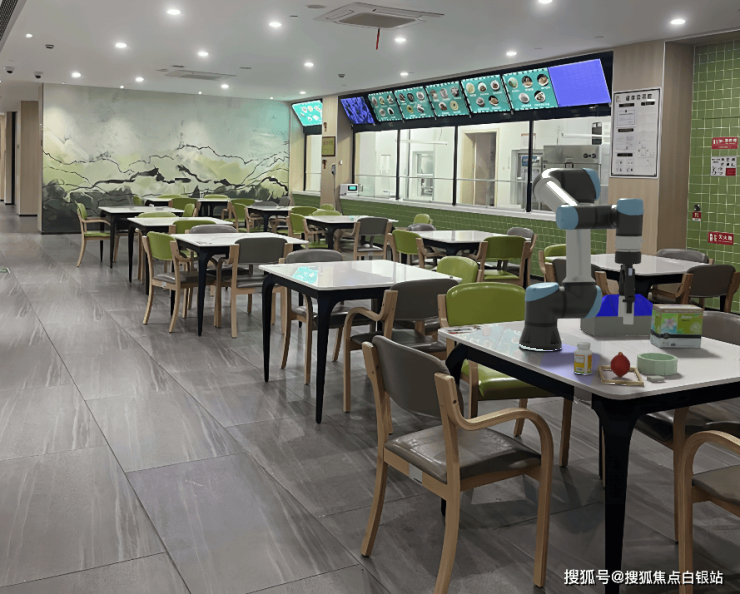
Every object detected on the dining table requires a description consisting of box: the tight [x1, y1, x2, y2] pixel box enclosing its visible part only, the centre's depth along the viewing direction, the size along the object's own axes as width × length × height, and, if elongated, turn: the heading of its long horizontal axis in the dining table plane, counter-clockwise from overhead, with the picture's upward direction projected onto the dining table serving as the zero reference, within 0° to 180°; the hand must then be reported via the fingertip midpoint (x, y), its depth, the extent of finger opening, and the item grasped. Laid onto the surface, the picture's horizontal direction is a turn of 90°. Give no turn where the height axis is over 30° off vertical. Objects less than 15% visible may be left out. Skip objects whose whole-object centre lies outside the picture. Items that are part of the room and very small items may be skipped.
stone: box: [646, 375, 666, 383], centre depth 217 cm, size 4×3×2 cm
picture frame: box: [597, 365, 645, 387], centre depth 221 cm, size 12×19×1 cm, turn 166°
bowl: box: [636, 352, 679, 376], centre depth 228 cm, size 12×12×4 cm
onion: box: [609, 351, 631, 378], centre depth 220 cm, size 6×6×8 cm
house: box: [579, 293, 653, 337], centre depth 290 cm, size 25×16×16 cm, turn 94°
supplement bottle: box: [573, 341, 593, 375], centre depth 225 cm, size 5×5×10 cm
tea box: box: [649, 303, 705, 349], centre depth 264 cm, size 15×10×15 cm
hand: (625, 320), depth 220 cm, fingers open, 13 cm apart
